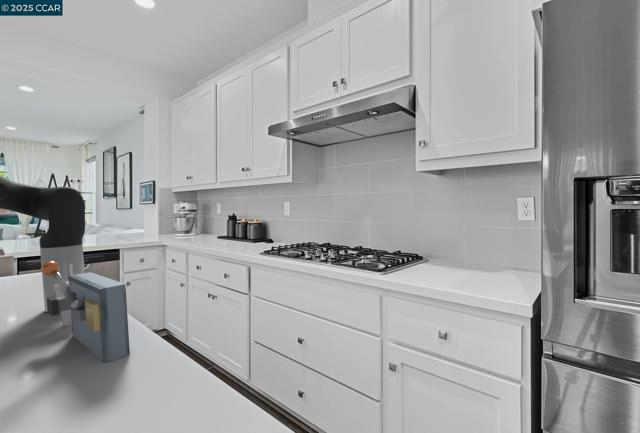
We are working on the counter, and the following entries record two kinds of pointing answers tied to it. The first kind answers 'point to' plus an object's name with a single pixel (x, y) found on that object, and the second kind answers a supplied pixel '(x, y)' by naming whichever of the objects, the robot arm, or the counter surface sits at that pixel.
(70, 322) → the smoothie
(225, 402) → the counter surface
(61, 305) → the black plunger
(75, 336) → the block
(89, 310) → the tan square block
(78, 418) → the counter surface
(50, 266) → the lever
